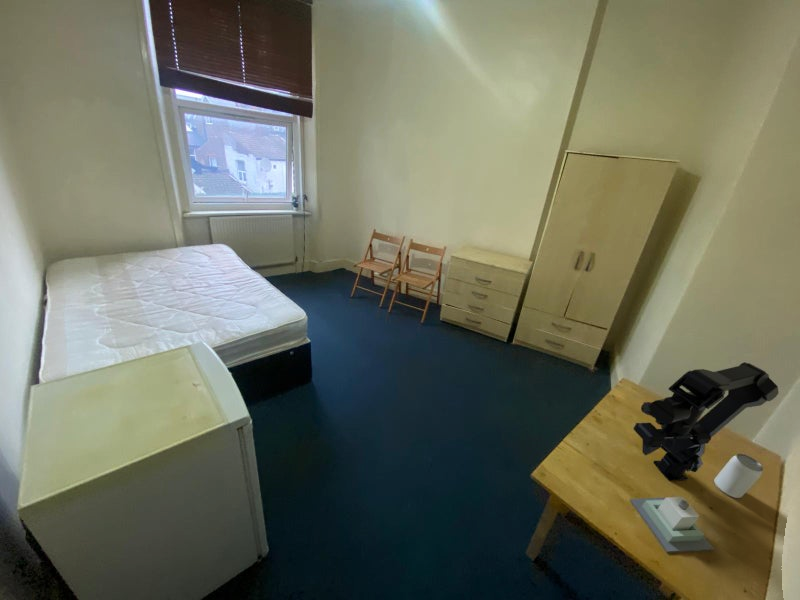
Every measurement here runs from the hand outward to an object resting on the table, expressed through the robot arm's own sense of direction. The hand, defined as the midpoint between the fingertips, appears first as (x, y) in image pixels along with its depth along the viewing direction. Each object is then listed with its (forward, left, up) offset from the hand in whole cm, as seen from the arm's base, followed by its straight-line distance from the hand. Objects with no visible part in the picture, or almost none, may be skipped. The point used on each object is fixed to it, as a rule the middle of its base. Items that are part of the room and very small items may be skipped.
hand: (658, 453), depth 93 cm
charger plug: (+2, +13, -11) cm, 17 cm away
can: (-26, +4, -12) cm, 29 cm away
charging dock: (+2, +13, -12) cm, 17 cm away
